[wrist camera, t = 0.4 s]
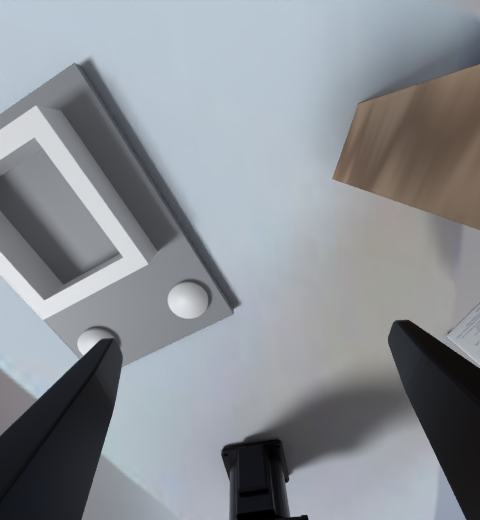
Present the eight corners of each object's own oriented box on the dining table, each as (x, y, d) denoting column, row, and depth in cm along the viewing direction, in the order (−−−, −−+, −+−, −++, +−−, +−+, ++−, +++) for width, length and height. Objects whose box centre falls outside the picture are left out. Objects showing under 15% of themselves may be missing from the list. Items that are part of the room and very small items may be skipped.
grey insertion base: (233, 309, 25) (233, 332, 22) (101, 371, 27) (84, 401, 24) (80, 66, 18) (49, 50, 15) (-79, 175, 20) (-134, 181, 17)
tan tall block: (395, 195, 22) (638, 271, 9) (332, 178, 21) (491, 234, 8) (432, 110, 20) (823, 44, 7) (363, 90, 19) (642, -27, 6)
